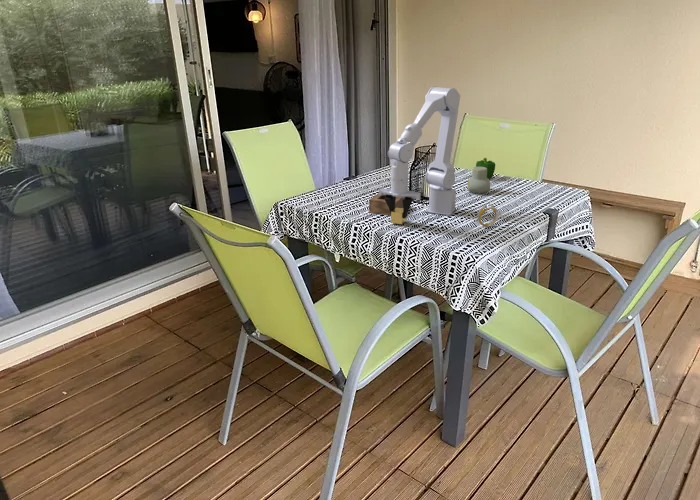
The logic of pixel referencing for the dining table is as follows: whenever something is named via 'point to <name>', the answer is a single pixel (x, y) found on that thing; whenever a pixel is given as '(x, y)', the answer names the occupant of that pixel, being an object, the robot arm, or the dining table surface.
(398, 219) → the yellow cube
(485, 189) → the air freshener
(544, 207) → the dining table surface
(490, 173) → the bell pepper
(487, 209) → the bracelet
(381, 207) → the wooden box
